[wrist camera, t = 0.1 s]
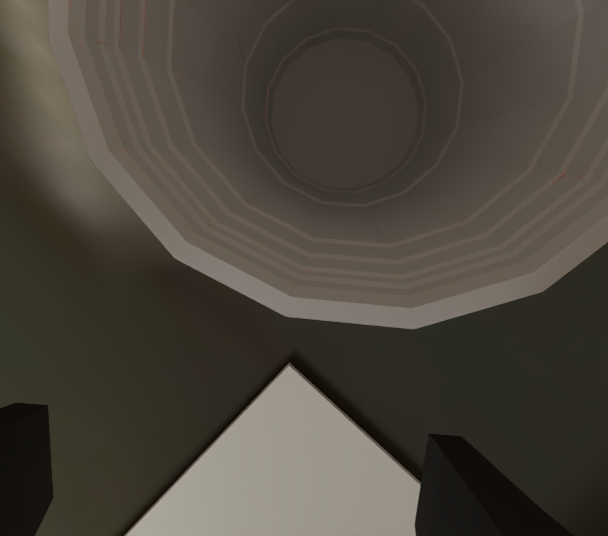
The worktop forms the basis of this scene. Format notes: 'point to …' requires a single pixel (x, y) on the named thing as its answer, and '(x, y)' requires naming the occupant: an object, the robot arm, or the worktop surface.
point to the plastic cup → (352, 143)
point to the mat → (288, 475)
